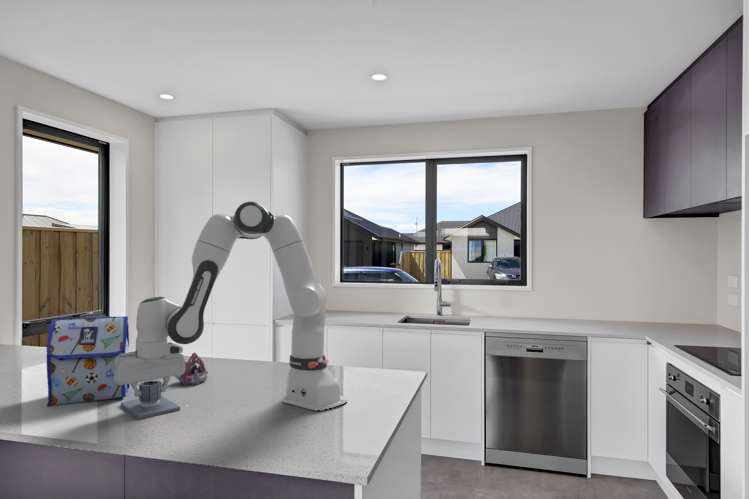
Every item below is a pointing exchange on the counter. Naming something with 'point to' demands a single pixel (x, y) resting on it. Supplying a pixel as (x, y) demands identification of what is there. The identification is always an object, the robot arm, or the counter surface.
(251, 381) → the counter surface
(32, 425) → the counter surface
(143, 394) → the hub ring
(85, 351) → the lunch bag
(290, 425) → the counter surface
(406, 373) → the counter surface
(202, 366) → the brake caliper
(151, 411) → the post block
